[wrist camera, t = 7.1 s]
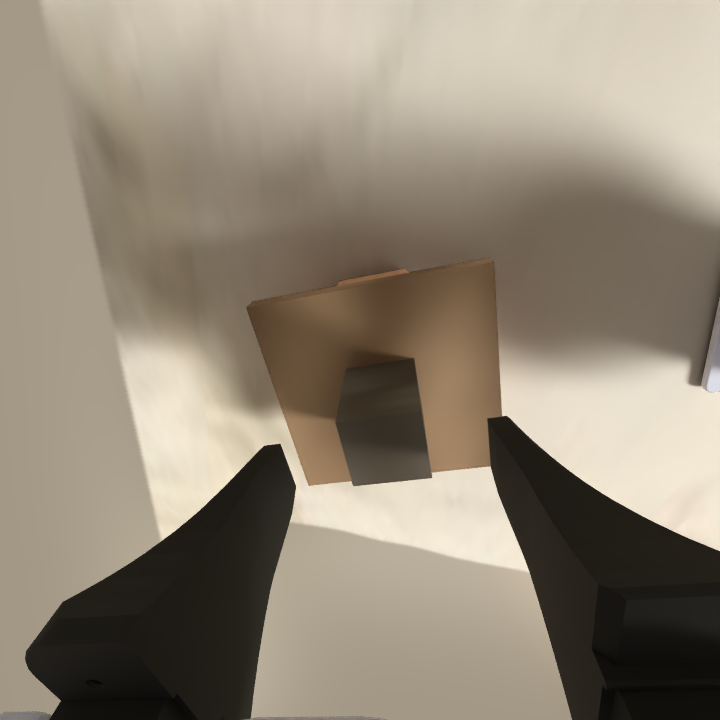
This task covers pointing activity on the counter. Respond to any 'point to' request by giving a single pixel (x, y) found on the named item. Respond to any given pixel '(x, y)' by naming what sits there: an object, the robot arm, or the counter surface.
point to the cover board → (381, 334)
